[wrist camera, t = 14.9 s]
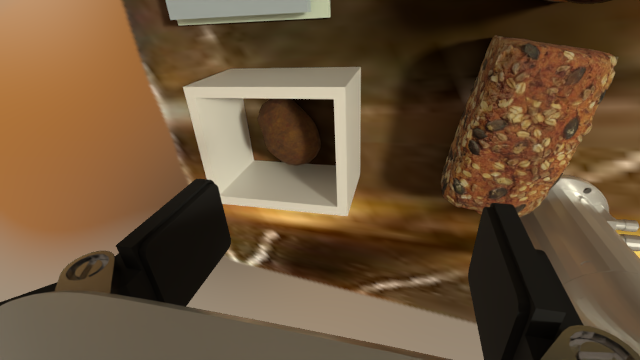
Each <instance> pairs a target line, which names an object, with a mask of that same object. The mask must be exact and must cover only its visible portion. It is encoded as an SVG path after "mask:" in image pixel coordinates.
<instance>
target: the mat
mask: <svg viewBox="0 0 640 360" xmlns="http://www.w3.org/2000/svg"><path fill="white" fill-rule="evenodd" d="M310 1H311V12H301V13H283V14H266V15H249V16H231V17H214V18H197V19H179V20H177V22H178V25H197V24H216V23H235V22H254V21H273V20H292V19H311V18H329V17H331V15H330V0H310Z"/></svg>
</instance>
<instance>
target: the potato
mask: <svg viewBox="0 0 640 360" xmlns="http://www.w3.org/2000/svg"><path fill="white" fill-rule="evenodd" d="M258 123H259V125H260V128H261V130H262V133H263V136H264V141H265V145H266V147H267V149H268V151H269V152H271V153H272V154H273V155H274V156H276V157H277V158H278V159H279V160H281V161H282V162H284V163H286V164H289V165H295V166H296V165H302V164H307V163H309V162H310V161H311V160H313V159H314V158H315V157H316V156H317V154H318V152H319V150H320V147H321V142H320V135H319V132H318V129H317V127H316V125H315V123H314V121H313V119H312V118H311V117H310V116H309V115H308V114H307V113H306V112H305V111H304V110H303V109H302V108H301V107H300V106H299V105H298V104H297V103H296V102H294V101H293V100H292V99H269V100H268V101H267V102H265V103H264V104H263V105H262V107H261V109H260V112H259V115H258Z"/></svg>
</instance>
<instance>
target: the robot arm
mask: <svg viewBox="0 0 640 360" xmlns="http://www.w3.org/2000/svg"><path fill="white" fill-rule="evenodd" d="M638 228H639V224H638V222H637V221H635V220H617V219H615V218H614V217H612V216H611V215H610V214H609V206H608V203H607V200H606V198H605V197H604V196H603V194H602V193H601V192H600V191H599V190H598V189H597V188H596V187H595V186H594V185H592V184H591V183H589V182H588V181H585V180H583V179H580V178H577V177H573V176H568V175H562V176H561V178H560V180H559V181H558V182H557V183H556V184H555V185H554V186H553V187H552V188H551V189H550V190H549V193H548V196H547V197H546V198H545V199H544V200H543V201H542V202H541V204H540V205H539V206H538V207H536V208H535V209H534V210H533V211H532V212H531V213H529V214H526V215H523V216H522V217H519V215H518V213H517V211H516V209H515V207H514V205H512V204H503V203H491V205H490V207H484V208H483V211H482V215H481V219H480V224H479V228H478V232H477V237H476V241H475V245H474V250H473V254H472V258H471V263H470V267H469V273H468V280H469V286H470V291H471V296H472V301H473V306H474V311H475V316H476V321H477V326H478V331H479V335H480V341H481V346H482V351H483V356H484V360H640V259H639V258H638V256H637V255H636V254H635V253H634V252H633V251H640V236H636V235H625V234H619V235H618V234H617V232H616V231H615V229H616V230H622V231H632V232H636V231H637V230H638ZM230 244H231V238H230V234H229V230H228V226H227V222H226V217H225V213H224V209H223V205H222V201H221V197H220V193H219V188H218V186H217V185H216V184H214V182H213V181H212V180H207V179H196V180H194V181H193V182H192V183H191V184H189V185H188V186H187V187H186V188H185V189H183V190H182V191H181V192H180V193H178V194H177V195H176V196H175V197H174V198H173V199H171V200H170V201H169V202H168V203H166V204H165V205H164V206H163V207H162V208H160V209H159V210H158V211H157V212H156V213H154V214H153V215H152V216H151V217H150V218H148V219H147V220H146V221H145V222H143V223H142V224H141V225H140V226H139V227H137V228H136V229H135V230H134V231H133V232H131V233H130V234H129V235H128V236H127V237H125V238H124V239H123V240H122V241H121V242H119V243H118V244H117V245H116V247H117V249H118V251H119V254H118V255H116V256H114V254H113V253H111V252H109V251H96V252H92V253H89V254H86V255H83V256H81V257H79V258H77V259H75V260H74V261H73V262H71V263H70V264H68V265H67V266H66V267H65V268H64V269H63V271H62V272H61V274H60V276H59V280H58V282H57V283H54V284H51V285H48V286H45V287H43V288H40V289H37V290H34V291H31V292H28V293H26V294H23V295H20V296H18V297H14V298H11V299H8V300H6V301H3V302H0V360H451V359H446V358H442V357H437V356H432V355H428V354H423V353H419V352H414V351H409V350H405V349H400V348H395V347H390V346H385V345H380V344H375V343H370V342H365V341H360V340H355V339H350V338H345V337H340V336H335V335H330V334H325V333H320V332H315V331H310V330H305V329H300V328H294V327H289V326H284V325H279V324H274V323H269V322H264V321H258V320H253V319H248V318H243V317H238V316H232V315H227V314H222V313H217V312H211V311H206V310H201V309H196V308H190V307H186V305H187V304H188V303H189V301H190V300H191V299H192V298H193V296H194V295H195V293H196V292H197V291H198V289H199V288H200V287H201V285H202V284H203V283H204V281H205V280H206V279H207V277H208V276H209V274H210V273H211V272H212V270H213V269H214V268H215V266H216V265H217V264H218V262H219V261H220V260H221V258H222V257H223V256H224V254H225V253H226V252H227V250H228V249H229V247H230Z"/></svg>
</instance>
